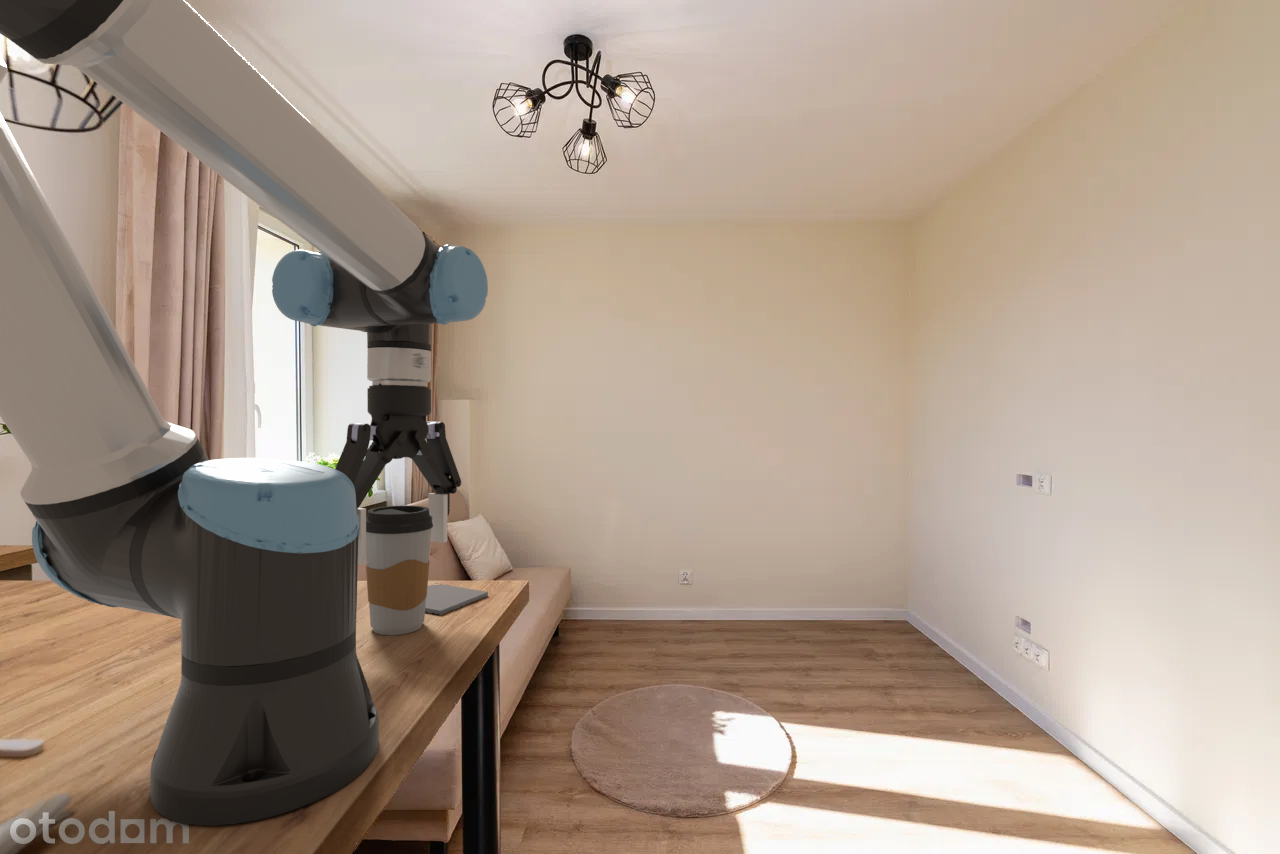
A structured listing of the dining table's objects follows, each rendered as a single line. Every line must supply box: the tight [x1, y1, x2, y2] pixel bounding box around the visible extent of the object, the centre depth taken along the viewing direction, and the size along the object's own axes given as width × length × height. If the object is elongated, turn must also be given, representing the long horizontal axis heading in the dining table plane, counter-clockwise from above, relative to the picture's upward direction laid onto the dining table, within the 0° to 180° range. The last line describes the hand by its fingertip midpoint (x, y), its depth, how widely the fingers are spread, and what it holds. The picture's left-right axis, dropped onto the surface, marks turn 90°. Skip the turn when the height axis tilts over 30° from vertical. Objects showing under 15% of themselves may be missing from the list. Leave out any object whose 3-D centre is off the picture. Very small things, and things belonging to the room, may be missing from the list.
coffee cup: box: [365, 505, 433, 636], centre depth 79 cm, size 8×8×15 cm
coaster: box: [425, 583, 489, 616], centre depth 91 cm, size 10×10×1 cm
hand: (399, 551), depth 79 cm, fingers open, 13 cm apart
